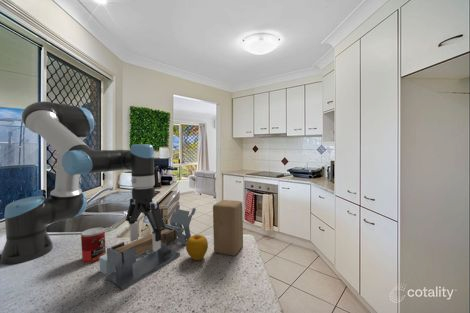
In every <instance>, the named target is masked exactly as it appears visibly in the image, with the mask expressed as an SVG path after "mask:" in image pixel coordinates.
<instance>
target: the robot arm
mask: <svg viewBox="0 0 470 313" xmlns="http://www.w3.org/2000/svg"><path fill="white" fill-rule="evenodd" d="M93 116H94V115H93V114H92V112H91V111H90V110H89V109H87V108H85V107H81V106H77V105H72V104H71V105H70V104H63V103H57V102H53V101H38V102H33V103H31V104H29V105H27V106H26V107H24V109H23V111H22V114H21V121H22V123H23V125H24V126H25V127H26V128H27V129H28V131H30V132H32V133H35V134H38V135H39V136H40V137H41V138H42V139H44V141H45V142H47V143H48V144H49V145H50V146H51V147H52V149H54V150H55V151H57V155H56V156H57V158H56V167H55V168H56V170H55V184H54V189H53V190H51V191H50V194H49V197H45V196H44V195H35V196H29V197H25V198H21V199H18V200H17V199H16V200H14V201H12V202H10V203H8V204H7V205H6V206H5V208H4V215H3V216H4V217H3V218H4V220H5V223H4V224H5V235H6V236H5V238H6V241H5V245H4V247H3V249H2V252H1V254H0V263H2V265H3V264H4V265H12V264H14V265H15V264H19V263H24V262H27V261H32V260H34V259H37V258H40V257H42V256H44V255H46V254H47V253H49V252H51V251H52V250H53V248H54V246H53V242H52V240H51V238H50V236H49V234H48V232H47V225H50V224H54V223H57V222H61V221H65V220H69V219H70V220H71V219H73V218H75V217H79V216H81V215H82V214H83V213H84V212H85V211H86V208H87V206H88V199H87V195H86V194H85V193H84V192H83V190H81V189H80V187H79V186H80V185H79V184H80V175H81V176H83V175H89V174H97V173H106V172H107V173H108V172H115V171H130V172H131V174H130V175H131V181H130V182H131V187H132V189H131V196H132V197H131V198H130V199H129V206H128V210H127V214H126V217H125V222H128V224H129V234H130V235H129V240H130V243H131V242H133V241H136V240H138V239H139V225H138V224H139V221H138V219H139V217H140V215H141V213H142V214H143V215H144V217H146V218H147V220H148V222H149V224H150V226H151V228H152V230H154V231H152V232H151V234H152V243H153V251H154V252H155V251H157V250H158V249H160V248H161V231H162V230H165V226H166V225H164V224H165V222H164V219H163V216H162V213H161V209H160V204H159V201H155V202H153V199H154V197H156V193H155V192H156V191H155V184H156V181H155V180H156V178H155V153H154V147H153V146H154V145H152V144H145V143H143V144H141V143H140V144H137V143H136V144H135V143H134V144H132V145H130V149H112V150H110V149H107V150H106V149H99V150H97V149H95V150H94V149H93V148H92V147H90V146H89V145H87V144H86V143H85V142H84V140H85V139H87V137H88V134H89V133H92V132H93V130H94V128H95V118H94V117H93Z"/></svg>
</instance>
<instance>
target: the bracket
mask: <svg viewBox="0 0 470 313" xmlns="http://www.w3.org/2000/svg"><path fill="white" fill-rule="evenodd" d="M196 210H197V208H194V207H193V208H192V210H191V212H190V211H189V210H184V209H180V205H179V204H176V207H175V209H174V211H173V212H172V213H171V216H170V219H169V224H165V223H164V225H165V226H167V227H171V228H174V229H177V239H176V240H175V239H174V240H175V242H174V243H177V244H178V243H181V244H183V245H185V246H186V244H187V240H188V239H189V238H190V237H191V236H192V235H191V230H190V224H191V222H192V218H193V216H194V215H195V214H196Z"/></svg>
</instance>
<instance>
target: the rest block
mask: <svg viewBox="0 0 470 313" xmlns="http://www.w3.org/2000/svg"><path fill="white" fill-rule="evenodd" d="M98 262H99V271H100V272H101V273H103V274H104V275H105V276H107V275H109V274H111V273H113V272H115V271H116V269H115V265H114V264H113V263H111V262H109V261H107V253H106V254H105V255H103V256H100V257H99V261H98Z"/></svg>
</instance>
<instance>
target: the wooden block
mask: <svg viewBox="0 0 470 313" xmlns="http://www.w3.org/2000/svg"><path fill="white" fill-rule="evenodd" d="M243 211H244V210H243V201H241V200H230V199H229V200H228V199H221V200H219V201H218V202H217V203H215V204H213V206H212V221H213V222H212V223H213V225H212V226H213V228H212V229H213V231H212V232H213V251H214V253H218V254H223V255H227V256H232V257H233V256H237V254H238V253H239V252H240V250H241V249H242V247H243V246H244V222H243V221H244V220H243V219H244V216H243V214H244V213H243Z"/></svg>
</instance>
